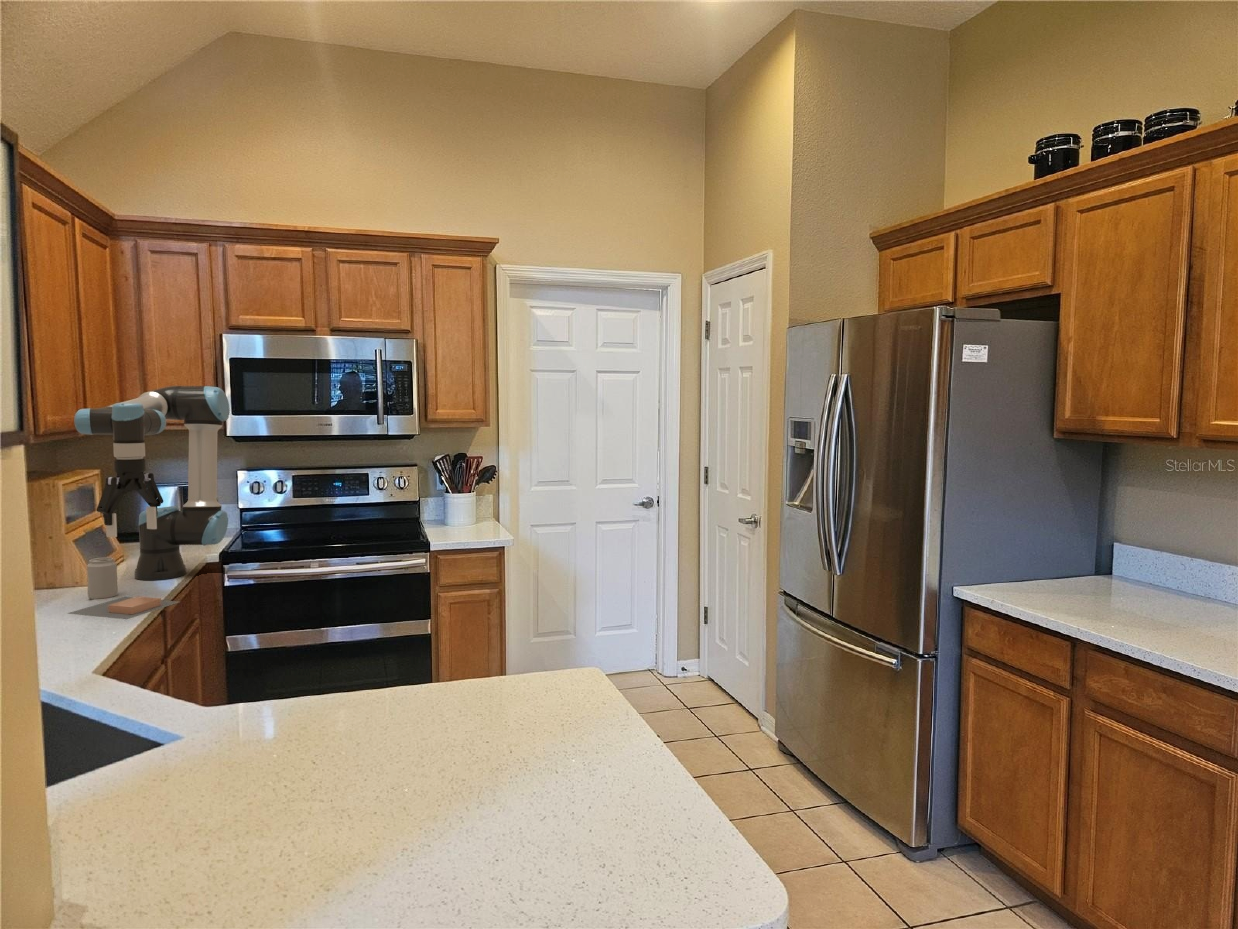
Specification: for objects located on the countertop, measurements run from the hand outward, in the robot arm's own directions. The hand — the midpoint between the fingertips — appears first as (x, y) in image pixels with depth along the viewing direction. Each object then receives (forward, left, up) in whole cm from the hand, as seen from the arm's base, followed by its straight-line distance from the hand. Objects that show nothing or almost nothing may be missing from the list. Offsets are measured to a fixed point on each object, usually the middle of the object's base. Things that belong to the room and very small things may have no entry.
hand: (132, 532), depth 219 cm
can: (-9, -20, -23) cm, 32 cm away
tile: (-4, +1, -21) cm, 21 cm away
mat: (0, -3, -22) cm, 23 cm away
